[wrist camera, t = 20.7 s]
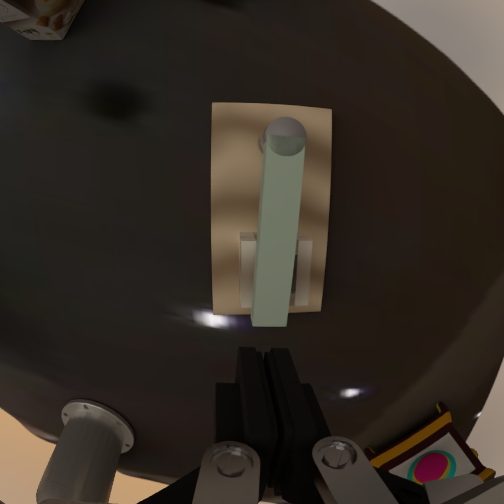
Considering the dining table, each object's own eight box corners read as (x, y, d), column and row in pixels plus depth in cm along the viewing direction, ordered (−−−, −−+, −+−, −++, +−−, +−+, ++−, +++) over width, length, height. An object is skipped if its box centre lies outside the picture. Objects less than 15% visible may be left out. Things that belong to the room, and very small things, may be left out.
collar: (298, 289, 33) (307, 305, 29) (238, 291, 32) (241, 307, 29) (301, 231, 31) (312, 240, 27) (239, 231, 31) (241, 241, 27)
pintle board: (316, 305, 35) (332, 329, 30) (213, 308, 34) (212, 334, 29) (327, 111, 30) (347, 101, 24) (212, 105, 28) (210, 92, 23)
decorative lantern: (449, 435, 49) (509, 519, 20) (376, 480, 50) (419, 577, 21) (445, 391, 43) (532, 497, 15) (354, 448, 45) (411, 578, 16)
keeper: (302, 122, 24) (307, 119, 22) (283, 317, 28) (287, 326, 27) (264, 118, 24) (267, 114, 22) (249, 316, 28) (251, 326, 26)
